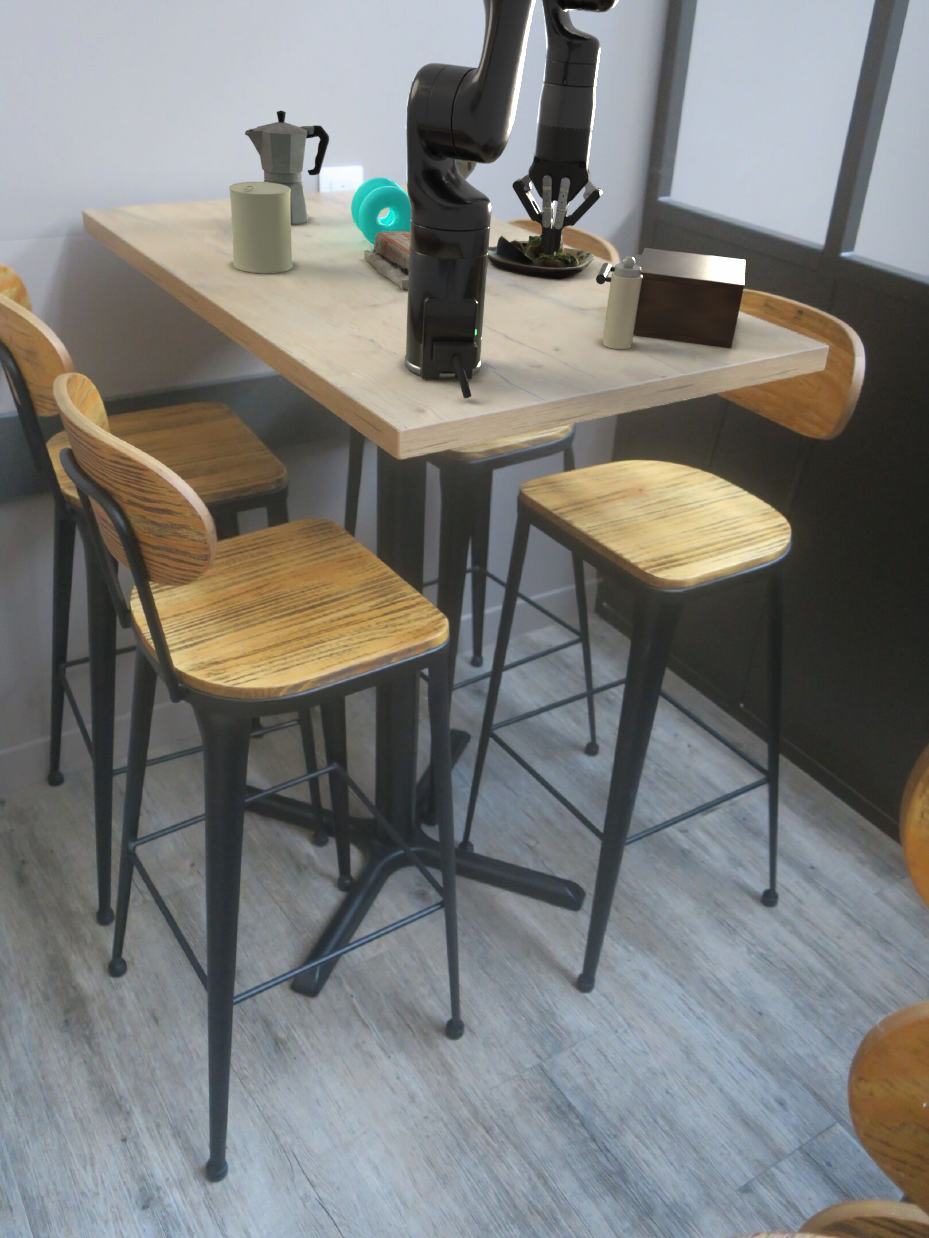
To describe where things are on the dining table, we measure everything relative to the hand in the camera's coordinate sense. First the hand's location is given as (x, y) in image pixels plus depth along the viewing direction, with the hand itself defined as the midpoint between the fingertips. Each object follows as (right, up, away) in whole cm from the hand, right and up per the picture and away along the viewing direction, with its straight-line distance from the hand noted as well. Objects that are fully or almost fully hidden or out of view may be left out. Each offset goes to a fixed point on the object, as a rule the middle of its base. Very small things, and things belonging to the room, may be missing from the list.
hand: (550, 254), depth 150 cm
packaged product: (-21, +2, +16) cm, 26 cm away
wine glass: (-14, +24, +50) cm, 57 cm away
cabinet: (+19, -10, +1) cm, 22 cm away
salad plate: (0, +7, +26) cm, 27 cm away
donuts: (-26, +13, +31) cm, 43 cm away
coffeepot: (-44, +21, +42) cm, 64 cm away
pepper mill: (+8, -15, -8) cm, 19 cm away
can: (-44, +3, +14) cm, 46 cm away
